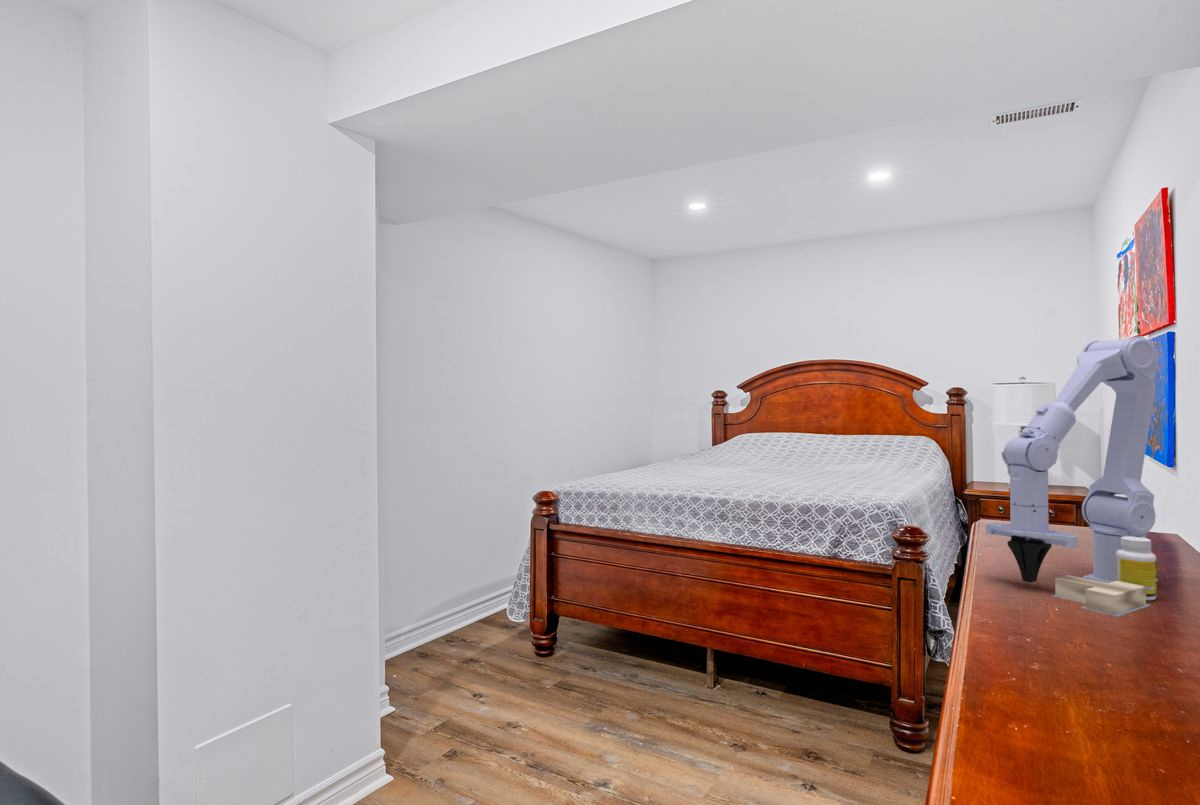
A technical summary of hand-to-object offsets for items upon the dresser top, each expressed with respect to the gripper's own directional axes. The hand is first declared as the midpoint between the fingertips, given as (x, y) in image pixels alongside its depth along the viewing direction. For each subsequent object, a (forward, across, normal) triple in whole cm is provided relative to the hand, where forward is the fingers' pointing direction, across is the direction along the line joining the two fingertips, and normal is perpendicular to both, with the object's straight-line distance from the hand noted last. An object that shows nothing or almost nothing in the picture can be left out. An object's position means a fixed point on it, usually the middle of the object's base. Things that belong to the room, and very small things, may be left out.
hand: (1029, 581), depth 119 cm
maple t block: (+1, +10, 0) cm, 10 cm away
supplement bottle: (+1, +12, +9) cm, 15 cm away
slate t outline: (+1, +10, 0) cm, 10 cm away
